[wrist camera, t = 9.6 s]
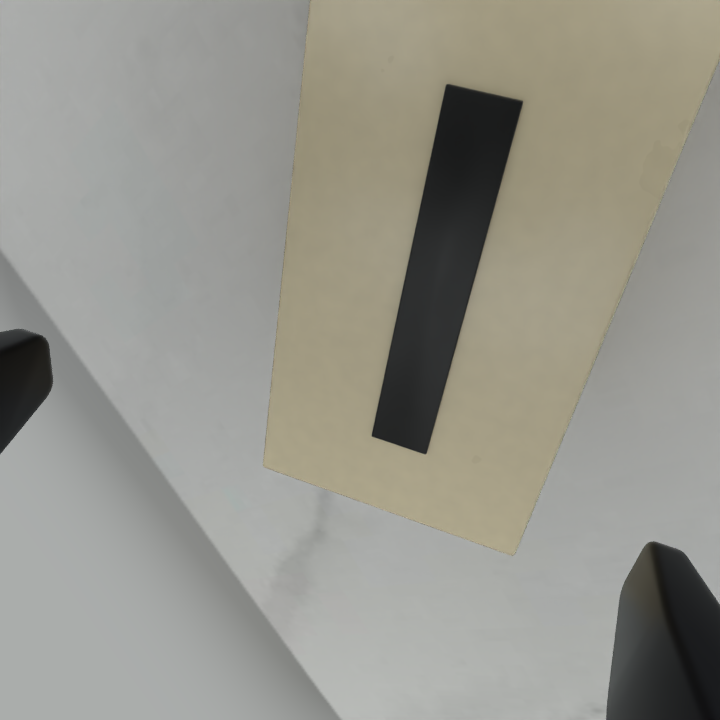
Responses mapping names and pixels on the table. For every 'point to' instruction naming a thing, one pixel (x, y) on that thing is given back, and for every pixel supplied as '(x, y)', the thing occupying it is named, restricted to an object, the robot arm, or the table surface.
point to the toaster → (468, 238)
